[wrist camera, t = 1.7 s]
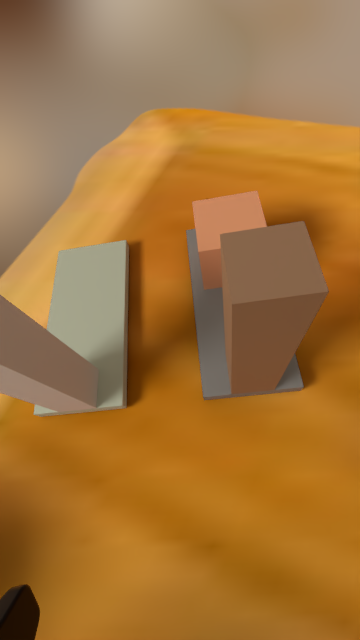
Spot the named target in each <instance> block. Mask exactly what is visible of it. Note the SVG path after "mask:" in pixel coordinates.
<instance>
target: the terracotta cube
mask: <svg viewBox="0 0 360 640" xmlns="http://www.w3.org/2000/svg"><path fill="white" fill-rule="evenodd" d="M192 204H193V212H194V220H195V228H196V236H197V245H198V253H199V259H200V266H201V273H202V279H203V286H204V290H206V289H214V288H221V287H222V267H221V245H220V234H224V233H230V232H236V231H243V230H249V229H255V228H261V227H267V225H266V221H265V218H264V214H263V210H262V207H261V203H260V199H259V195H258V192H257V191H252V192H246V193H241V194H235V195H229V196H223V197H217V198H212V199H206V200H200V201H194V202H192Z"/></svg>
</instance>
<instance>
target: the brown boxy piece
mask: <svg viewBox="0 0 360 640" xmlns="http://www.w3.org/2000/svg"><path fill="white" fill-rule="evenodd" d="M186 233H187V243H188V253H189V263H190V272H191V282H192V292H193V302H194V311H195V321H196V331H197V341H198V351H199V360H200V370H201V380H202V390H203V398H204V400H211V399H221V398H230V397H240V396H250V395H260V394H270V393H280V392H290V391H300V390H302V389H303V387H304V386H303V382H302V378H301V374H300V370H299V366H298V363H297V359H296V355H295V352H296V350H297V348H298V346H299V345H300V343H301V341H302V339H303V337H304V336H305V334H306V332H307V330H308V328H309V327H310V325H311V323H312V321H313V319H314V318H315V316H316V314H317V312H318V310H319V308H320V307H321V305H322V303H323V301H324V299H325V298H326V296H327V294H328V292H329V290H328V287H327V285H326V282H325V279H324V276H323V273H322V270H321V268H320V265H319V262H318V259H317V256H316V253H315V251H314V248H313V245H312V242H311V239H310V236H309V234H308V231H307V228H306V225H305V222H304V221H299V222H293V223H287V224H280V225H274V226H268V227H261V228H255V229H249V230H243V231H236V232H230V233H224V234H220V245H221V267H222V287H221V288H214V289H206V290H204V286H203V279H202V273H201V266H200V259H199V253H198V245H197V236H196V229H191V230H186Z"/></svg>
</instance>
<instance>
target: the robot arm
mask: <svg viewBox="0 0 360 640" xmlns="http://www.w3.org/2000/svg"><path fill="white" fill-rule="evenodd" d="M39 617H40V610H39V605H38V603H37V601H36V599H35V597H34V594H33V592H32V590H31V588H30V586H29V585H27V584H24V585H19V586H15V587H12V588H11V589H9V590H8V591H7V592H6V593H5V595H4V596H3V597H2V598H1V599H0V640H35V636H36V631H37V627H38V623H39Z"/></svg>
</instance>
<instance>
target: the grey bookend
mask: <svg viewBox="0 0 360 640" xmlns="http://www.w3.org/2000/svg"><path fill="white" fill-rule="evenodd" d="M128 282H129V246H128V243H127V241H126V240H124V241H117V242H111V243H105V244H99V245H93V246H86V247H80V248H74V249H68V250H62V251H59V254H58V260H57V267H56V273H55V280H54V286H53V293H52V299H51V306H50V312H49V318H48V325H47V330H46V329H45V328H43V327H42V326H41V325H39V324H38V323H37V322H35V321H34V320H33V319H31V318H30V317H29V316H27V315H26V314H25V313H24V312H22V311H21V310H20V309H18V308H17V307H16V306H14V305H13V304H12V303H10V302H9V301H8V300H6V299H5V298H4V297H2V296H1V295H0V393H2V394H5V395H9V396H12V397H15V398H18V399H21V400H24V401H27V402H30V403H33V404H35V409H34V415H37V416H41V417H42V416H52V415H62V414H72V413H82V412H92V411H102V410H112V409H121V408H127V346H128Z"/></svg>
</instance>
